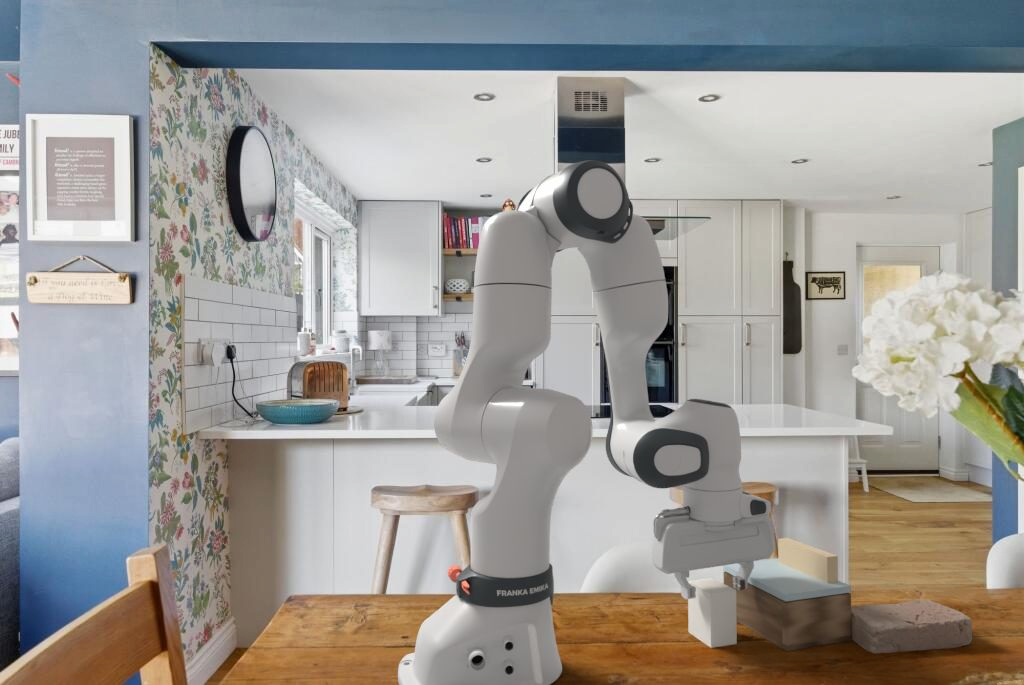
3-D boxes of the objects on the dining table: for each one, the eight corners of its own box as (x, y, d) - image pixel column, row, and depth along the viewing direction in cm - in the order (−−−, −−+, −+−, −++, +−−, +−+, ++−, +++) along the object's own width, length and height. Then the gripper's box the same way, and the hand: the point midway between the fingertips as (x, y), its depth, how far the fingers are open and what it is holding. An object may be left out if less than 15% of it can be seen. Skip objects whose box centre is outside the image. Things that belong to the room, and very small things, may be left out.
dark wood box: (786, 651, 97) (785, 602, 97) (724, 613, 111) (723, 571, 112) (851, 640, 101) (850, 593, 101) (783, 605, 115) (782, 564, 115)
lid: (785, 601, 97) (785, 567, 97) (723, 570, 112) (723, 540, 112) (850, 592, 101) (850, 559, 101) (782, 563, 115) (782, 534, 115)
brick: (873, 656, 96) (873, 624, 96) (837, 633, 104) (837, 602, 104) (975, 649, 98) (975, 617, 98) (932, 627, 107) (931, 597, 107)
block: (711, 648, 98) (710, 593, 99) (688, 632, 104) (687, 580, 104) (736, 643, 100) (736, 590, 100) (713, 628, 105) (712, 577, 106)
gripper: (664, 515, 96) (667, 611, 96) (780, 501, 103) (782, 590, 103) (642, 506, 102) (645, 595, 102) (753, 493, 109) (755, 577, 109)
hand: (714, 593), depth 103 cm, fingers open, 8 cm apart
